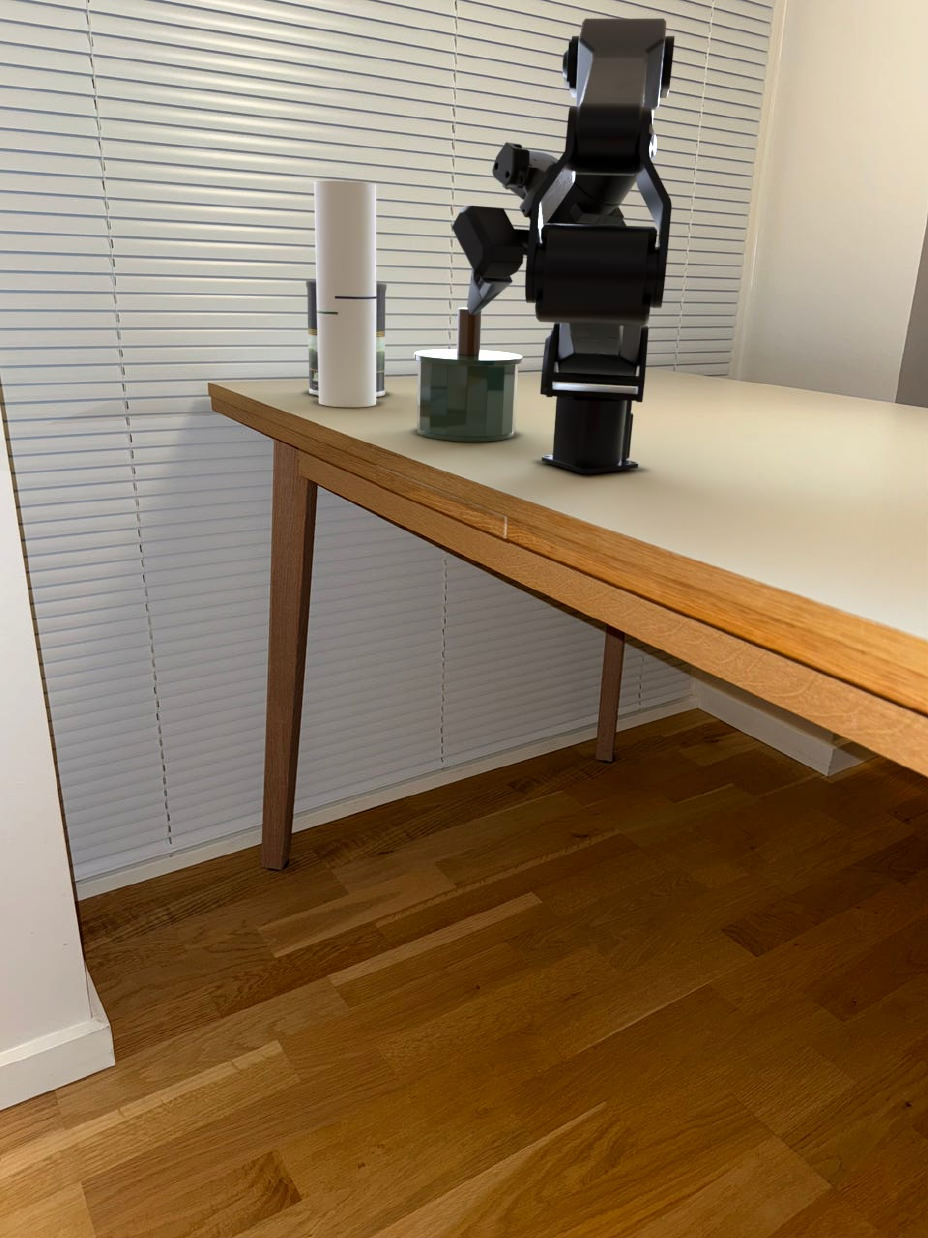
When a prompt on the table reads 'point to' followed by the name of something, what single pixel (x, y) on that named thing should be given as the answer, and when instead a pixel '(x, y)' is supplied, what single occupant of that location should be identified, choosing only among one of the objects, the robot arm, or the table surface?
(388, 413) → the table surface
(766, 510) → the table surface
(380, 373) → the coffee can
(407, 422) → the table surface
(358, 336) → the cylindrical container
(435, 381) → the pot
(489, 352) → the lid
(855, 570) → the table surface
